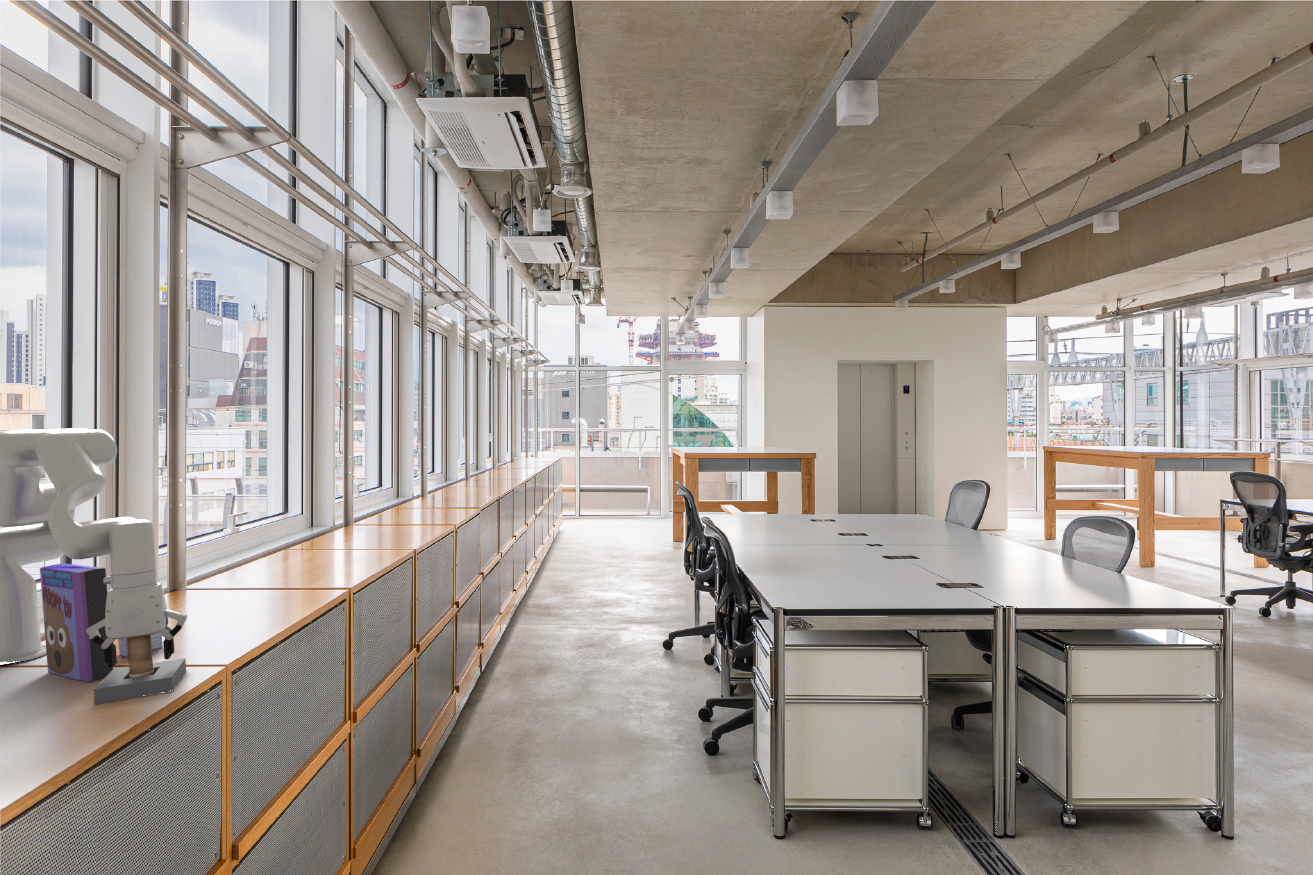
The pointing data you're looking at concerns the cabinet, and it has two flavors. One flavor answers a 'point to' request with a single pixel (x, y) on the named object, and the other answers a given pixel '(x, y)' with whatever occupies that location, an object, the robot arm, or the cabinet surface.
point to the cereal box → (74, 620)
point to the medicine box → (155, 643)
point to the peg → (140, 656)
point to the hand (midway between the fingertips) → (140, 661)
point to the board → (139, 682)
